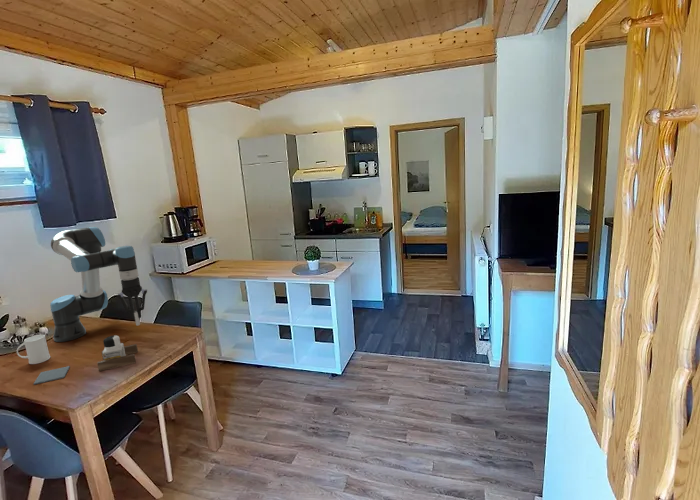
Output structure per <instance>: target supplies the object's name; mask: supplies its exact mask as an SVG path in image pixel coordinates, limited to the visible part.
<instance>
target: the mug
mask: <svg viewBox="0 0 700 500" xmlns="http://www.w3.org/2000/svg"><path fill="white" fill-rule="evenodd" d="M22 346H25V351H26V356H25V355H21V354H20V353H19V349H21V347H22ZM16 354H17V356H18V357H20V359H21V358H22V359H28V364H29V365H38V364H41V363H44V362H46V361H48V360H50V358H51V355H50V351H49V348H48V342H47V337H46V335H45V334H35V335H32V336H29V337H26V338H25V339H24V340H23V342H22V343H21V344H19V345H18V347H17V349H16Z"/></svg>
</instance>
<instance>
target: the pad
mask: <svg viewBox="0 0 700 500" xmlns="http://www.w3.org/2000/svg"><path fill="white" fill-rule="evenodd" d="M70 367H71V366H70V365H67V366H65V367H59V368H53V369H50V370H46V371H45V370H44V371H41V372H40V373H39V375H38V376H37V377H36V379H35V381H34V382H33V386H34V385H38V384H39V385H40V384H44V383H47V382H52V381H57V380H61V379H64V378H65V377H66V375H67V374H68V372H69V369H70Z"/></svg>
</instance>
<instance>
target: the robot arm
mask: <svg viewBox="0 0 700 500" xmlns="http://www.w3.org/2000/svg"><path fill="white" fill-rule="evenodd" d="M105 246H106V239H105V236H104V234H103V231H102V230H101V229H100V228H99V227H96V226H91V227H90V226H89V227H83V228H76V229H67V230H62V231H60V232H58V233H57V234H55V235H54V236H53V237H52V238H51V241H50V247H51V249H52V251H53V252H54V253H56V254H58V255H60V256H63V257H65V258H66V259H67V260H69V261H70V262H71V263H70V265H71V268H72V270H73V271H74V272H76V273H80V274H81V287H82V288H81V289H80V290H79V293H78V294H79V295H76V296H75V294H66V295H62V296H60V297H57V298H55V299H53V300H52V301H51V302H50V312H51V315H52V316H51V317H52V320H53V324H54V328H53V329H54V330H53V338H52V339H53V342H56V343H61V342H62V343H63V342H68V341H72V340H76V339H79V338H81V337H83V336H85V335H86V334H87V329H86V328H85V326H84V325H83V323H82V321H81V320H80V316H84V315H87V314H90V313H91V314H92V313H96V312H99V311H101V310H104V309H106V308H107V306H108V303H109V299H108V298H109V297H108V293H107V291H106V290H104V289H103V288H102V287H101V281H100V280H101V279H100V277H101V276H100V269H103V268H108V267H113V266H117V267H118V272H119V277H120V284H121V292H120V293H117V295H116V297H117V298H118V299H119V300H120V302H121V304H122V306H123V307H124V309H125V312H126V313H128V314H129V313H131V319H132V320H134V321H135V325H136V326H140V325H141V320H140V318H142V311H144V309H145V303H146V295H147V293H148V289H144V288H143V287H142V286H141V283H140V278H139V271H138V266H137V265H138V264H137V261H136V260H137V259H136V253H135V250H134V247H133V246H132V245H123V246H118V247H115V248H110V249H109V250H104V251H102V248H104V247H105ZM140 293H141V294H142V298H141V306H140V301H139V295H140ZM124 296H126V298H128V302H129V305H128V303H127V301H126V299H125V297H124ZM133 298H134V300H135V305H136V306H135V307H136V310H135V307H134V300H133ZM136 326H135V327H136Z"/></svg>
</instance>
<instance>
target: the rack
mask: <svg viewBox="0 0 700 500" xmlns="http://www.w3.org/2000/svg"><path fill="white" fill-rule="evenodd" d="M124 349H125V354H126V356H123V357H118V358H114V359H109V360H104V359H103V354H102V353H103V351H104V350H102V351H101V357H102V360H101V361H97V363H96V364H97V367H98V372H101V371H106V370H110V369H115V368H119V367H124V366H127V365H132V364H136V363H137V361H136V360H137V359H136V355H135V354H136V353H138V352H139V350H138V345H137V343H135V344H130V345H124Z"/></svg>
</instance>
